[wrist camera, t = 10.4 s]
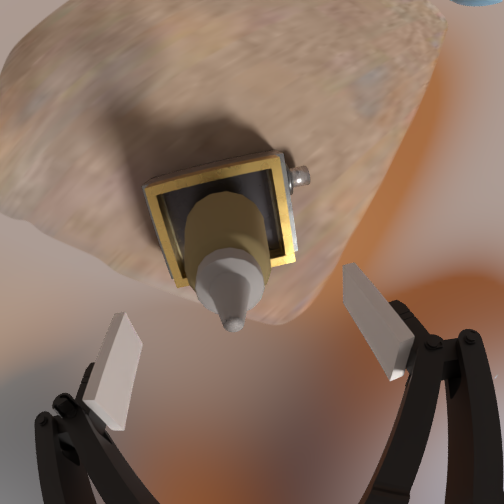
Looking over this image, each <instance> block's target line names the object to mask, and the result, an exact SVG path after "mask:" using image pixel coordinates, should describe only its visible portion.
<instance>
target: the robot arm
mask: <svg viewBox="0 0 504 504" xmlns="http://www.w3.org/2000/svg"><path fill="white" fill-rule="evenodd" d="M451 1H453V2H455V3H457V4H461V5H465V6H486V5H492V4H496V3H500V2H502V0H451ZM343 303H344V305H345V307H346V308H347V310H348V311H349V313H350V315H351V316H352V318H353V319H354V321H355V323H356V324H357V325H358V328H359V329H360V331H361V333H362V334H363V336H364V337H365V339H366V341H367V342H368V344H369V346H370V348H371V349H372V351H373V353H374V354H375V356H376V358H377V359H378V361H379V363H380V365H381V366H382V368H383V370H384V372H385V373H386V375H387V377H388V379H389V380H390V381H392V380H394V379H396V378H399V377H401V376H403V375H404V372H405V369H407V371H408V372H409V377H408V380H407V382H406V385H405V386H406V388H405V391H404V394H403V398H402V401H401V404H400V408H399V411H398V414H397V417H396V420H395V422H394V425H393V428H392V431H391V433H390V436H389V439H388V441H387V444H386V446H385V449H384V451H383V454H382V456H381V458H380V461H379V463H378V465H377V468H376V470H375V472H374V474H373V476H372V479H371V480H370V483H369V485H368V487H367V489H366V491H365V493H364V494H363V496H362V498H361V500H360V502H359V503H358V504H408V502H409V499H410V490H411V487H412V485H413V482H414V480H415V477H416V474H417V472H418V469H419V466H420V463H421V460H422V457H423V454H424V451H425V447H426V444H427V441H428V437H429V433H430V429H431V426H432V422H433V418H434V413H435V409H436V404H437V399H438V394H439V389H440V383H441V380H445V389H446V400H447V415H448V471H447V485H446V496H445V504H504V491H503V451H502V438H501V429H500V420H499V413H498V406H497V400H496V395H495V390H494V384H493V380H492V375H491V372H490V367H489V363H488V359H487V355H486V352H485V348H484V345H483V341H482V338H481V336H480V334H479V333H478V332H477V331H475V330H472V329H465V330H463V331H461V332H460V334H459V336H458V338H455V339H448V340H443V339H442V338H441V337H439V336H437V335H432V334H429V333H428V332H427V330H426V329H425V328H424V326H423V325H422V324H421V323H420V322H419V320H418V319H417V318H416V317H414V314H413V313H412V312H410V310H409V309H408V308H407V306H406V305H405V304H403V303H402V302H400V301H398V300H395V301H392V302H389V303H388V302H387V301H386V299H385V298H384V297H383V296H382V294H381V293H380V292H379V291H378V290H377V288H376V287H375V286H374V285H373V284H372V282H371V281H370V280H369V279H368V278H367V276H366V275H365V274H364V273H363V272H362V271H361V269H360V268H359V267H358V266H357V265H356V264H355V263H350V264H346V265H343ZM142 346H143V344H142V342H141V340H140V338H139V337H138V335H137V333H136V331H135V329H134V327H133V326H132V324H131V322H130V320H129V318H128V316H127V314H126V312H121V313H116V314H115V315H114V317H113V319H112V322H111V324H110V326H109V329H108V331H107V333H106V336H105V338H104V341H103V344H102V346H101V348H100V351H99V354H98V356H97V359H96V362H95V363H91V364H90V365H89V366H88V368H87V369H86V371H85V374H84V376H83V377H84V378H83V379H82V381H81V384H80V387H79V390H78V392H77V396H76V398H75V400H74V399H73V397H72V396H71V395H70V394H68V393H62V394H60V395H58V396H57V397H56V398H55V400H54V401H53V405H52V408H53V410H54V411H55V412H56V413H57V414H58V415H57V416H52V415H51V414H50V413H49V412H45V411H44V412H41V413H40V414H39V415H38V416H37V417H36V419H35V443H36V454H37V463H38V471H39V479H40V485H41V491H42V496H43V501H44V504H96V500H95V497H94V494H93V492H92V488H91V484H90V481H89V477H90V479H91V480H92V482H93V484H94V486H95V487H96V489H97V491H98V492H99V494H100V496H101V497H102V499H103V501H104V502H105V503H106V504H160V503H159V502H158V501H157V500H156V499H155V498H154V497H153V495H152V494H151V493H150V492H149V490H148V489H147V488H146V487H145V485H144V484H143V483H142V482H141V480H140V479H139V478H138V476H137V475H136V474H135V472H134V471H133V470H132V468H131V467H130V466H129V464H128V463H127V461H126V460H125V458H124V457H123V456H122V454H121V453H120V451H119V449H118V448H117V447H116V445H115V443H114V442H113V440H112V439H111V437H110V435H109V434H108V433H107V431H106V430H105V427H106V425H107V426H108V427H109V428H110V429H112V430H124V429H125V423H126V418H127V413H128V408H129V403H130V398H131V393H132V388H133V383H134V379H135V375H136V370H137V366H138V362H139V358H140V354H141V349H142ZM87 473H88V474H87ZM88 475H89V477H88Z"/></svg>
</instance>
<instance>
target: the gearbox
mask: <svg viewBox="0 0 504 504" xmlns="http://www.w3.org/2000/svg"><path fill="white" fill-rule="evenodd" d="M309 184H310V174H309V171H308V168H307V167H306V166H300V167H294V168H289V167H288V165H287V163H285V159H284V153H282V152H279V151H276V150H270V151H265V152H259V153H254V154H249V155H244V156H239V157H234V158H230V159H225V160H221V161H216V162H212V163H208V164H203V165H199V166H195V167H191V168H187V169H183V170H180V171H176V172H172V173H169V174H165V175H161V176H158V177H154V178H151V179H150V180H149V181H147V182H146V183H145V184H144V185H143V186H141V187H142V190H143V193H144V197H145V200H146V204H147V207H148V210H149V213H150V217H151V220H152V223H153V226H154V229H155V232H156V235H157V238H158V241H159V244H160V247H161V250H162V253H163V256H164V259H165V262H166V265H167V267H168V270H169V273H170V276H171V278H172V279H174V281H175V284H176V286H177V288H180V287H184V286H189V283H188V280H187V276H186V272H185V226H186V221H187V216H188V214H189V213H190V211H191V210H192V208H193V207H194V205H195V204H196V203H197V202H198V201H200V200H201V199H203V198H205V197H206V196H208V195H209V194H213V193H219V192H225V191H227V192H232V193H237V194H241V195H243V196H245V197H246V198H248V199H249V200H251V201H252V202H253V203H255V204H256V206H257V207H258V209H259V211H260V212H261V214H262V216H263V218H264V224H265V230H266V236H267V242H268V247H269V253H270V261H271V267H274V266H279V265H283V264H287V263H291V262H295V255H294V251H298V247H297V239H296V232H295V224H294V217H293V210H292V204H291V197H290V195H292V194H293V188H294V187H299V186H304V185H309Z"/></svg>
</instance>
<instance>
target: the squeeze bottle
mask: <svg viewBox="0 0 504 504" xmlns="http://www.w3.org/2000/svg"><path fill="white" fill-rule="evenodd" d="M185 272H186V276H187V280H188V283H189V285H190V286H191V287H192V288H193V290H194V291H195V292H196V294H197V297H198V300H199V301H200V302H201V303H202V304H203V306H204V307H205V308H207V309H208V310H210V311H212V312H214V313H216V314H219V317H220V319H221V321H222V324H223V327H224V328H225V329H226V330H227V331H230V332H237V331H239V330H241V329H242V328H243V326H244V322H245V317H246V312H247V311H248V310H250V309H252V308H253V307H254V306H255V305H256V304H257V303H258V302H259V301H260V300H261V298H262V295H263V292H264V289H265V285H266V284H267V282H268V279H269V276H270V273H271V261H270V253H269V247H268V242H267V236H266V230H265V224H264V218H263V216H262V214H261V212H260V211H259V209H258V207H257V206H256V204H255V203H253V202H252V201H251V200H249V199H248V198H246V197H245V196H243V195H241V194H237V193H232V192H227V191H225V192H219V193H213V194H209V195H208V196H206V197H205V198H203V199H201V200H200V201H198V202H197V203H196V204H195V205H194V207H193V208H192V210H191V211H190V213H189V214H188V216H187V221H186V226H185Z"/></svg>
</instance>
